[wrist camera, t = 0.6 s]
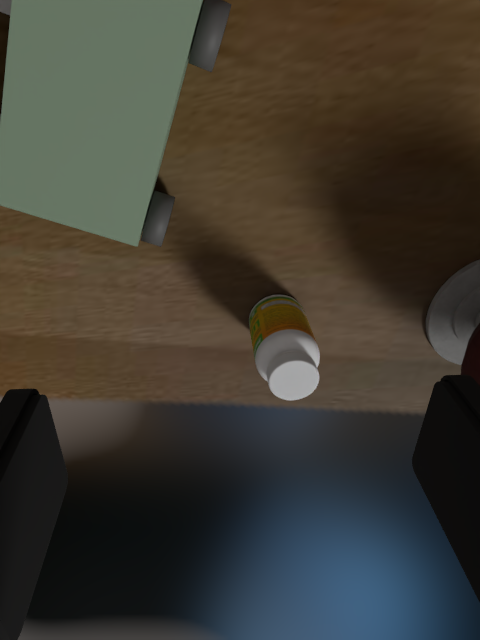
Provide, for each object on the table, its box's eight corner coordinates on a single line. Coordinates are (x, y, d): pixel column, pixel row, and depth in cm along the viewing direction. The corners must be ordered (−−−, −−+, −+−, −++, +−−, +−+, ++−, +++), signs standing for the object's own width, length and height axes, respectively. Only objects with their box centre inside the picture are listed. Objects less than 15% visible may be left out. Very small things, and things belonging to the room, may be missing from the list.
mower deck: (-82, -133, 26) (-140, -171, 21) (229, 7, 30) (233, -1, 26) (-85, 159, 33) (-127, 174, 29) (163, 236, 38) (158, 259, 34)
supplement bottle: (244, 297, 41) (255, 358, 33) (302, 288, 41) (327, 347, 33) (251, 345, 44) (263, 412, 36) (305, 336, 44) (329, 402, 36)
